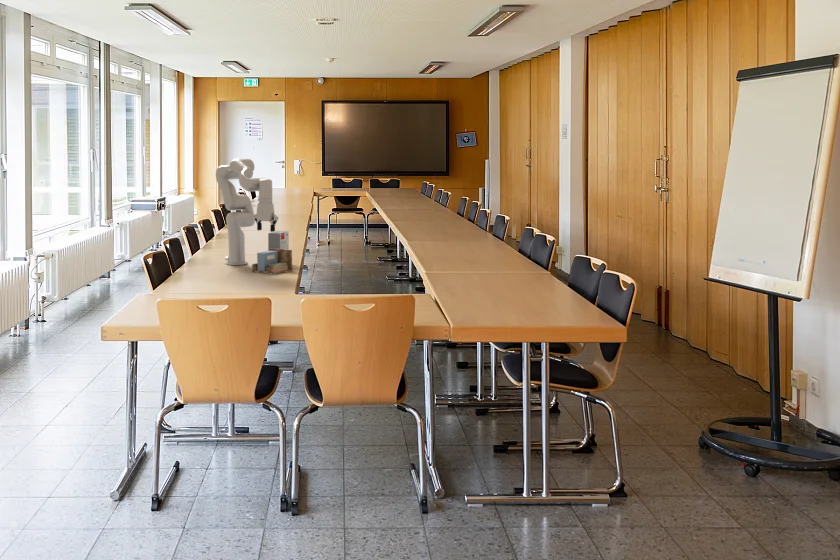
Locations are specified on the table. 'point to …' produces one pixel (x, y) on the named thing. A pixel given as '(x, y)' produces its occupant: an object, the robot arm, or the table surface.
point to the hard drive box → (278, 240)
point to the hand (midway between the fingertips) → (266, 230)
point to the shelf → (282, 264)
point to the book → (266, 259)
